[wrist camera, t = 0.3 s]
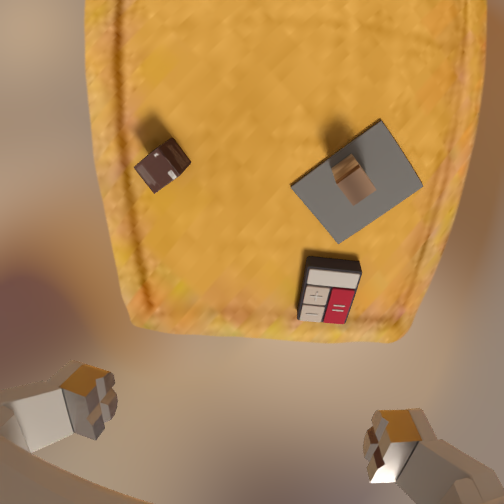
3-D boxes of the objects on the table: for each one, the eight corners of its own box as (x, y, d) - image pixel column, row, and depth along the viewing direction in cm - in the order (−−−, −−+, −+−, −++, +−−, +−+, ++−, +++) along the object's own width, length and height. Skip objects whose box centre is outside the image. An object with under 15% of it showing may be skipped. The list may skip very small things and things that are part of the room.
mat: (380, 120, 48) (381, 120, 48) (422, 185, 53) (423, 186, 53) (290, 186, 57) (290, 187, 57) (338, 242, 62) (338, 244, 61)
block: (351, 153, 52) (360, 167, 45) (366, 173, 53) (376, 189, 47) (330, 168, 54) (336, 184, 47) (346, 187, 55) (353, 206, 48)
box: (149, 154, 57) (132, 167, 50) (173, 136, 54) (157, 146, 48) (168, 180, 59) (153, 194, 53) (192, 162, 57) (179, 176, 51)
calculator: (296, 322, 70) (307, 268, 61) (297, 308, 73) (307, 255, 64) (345, 326, 69) (363, 274, 60) (343, 313, 72) (360, 260, 64)
